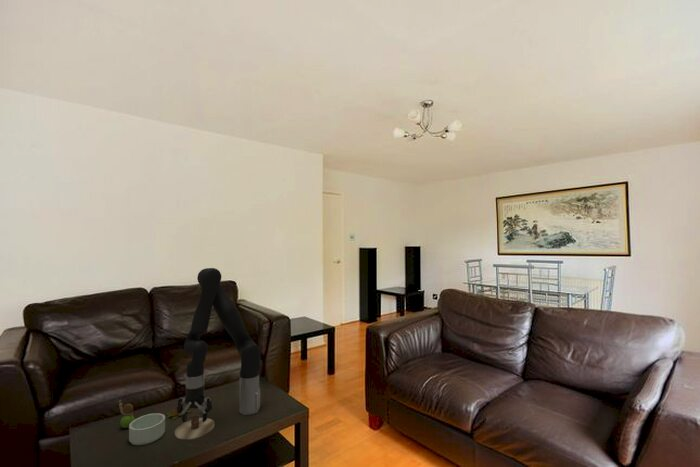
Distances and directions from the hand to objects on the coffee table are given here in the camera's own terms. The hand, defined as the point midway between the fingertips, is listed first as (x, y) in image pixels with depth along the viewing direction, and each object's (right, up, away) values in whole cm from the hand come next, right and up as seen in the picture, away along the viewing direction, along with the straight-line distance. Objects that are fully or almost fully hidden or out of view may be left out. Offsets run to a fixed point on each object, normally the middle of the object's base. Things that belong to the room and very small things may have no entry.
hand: (194, 421), depth 146 cm
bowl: (-18, -3, -6) cm, 19 cm away
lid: (0, -4, 0) cm, 4 cm away
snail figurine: (-32, -4, +2) cm, 32 cm away
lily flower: (-14, -5, +13) cm, 20 cm away
